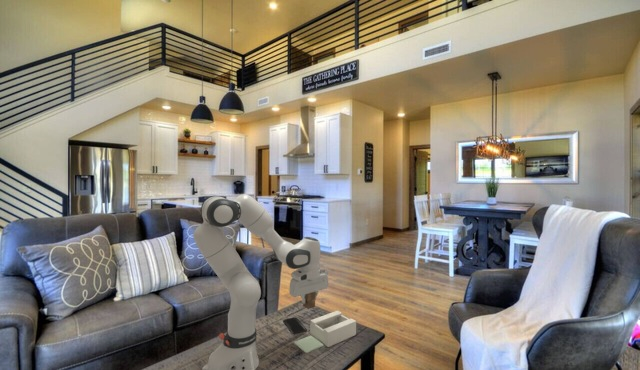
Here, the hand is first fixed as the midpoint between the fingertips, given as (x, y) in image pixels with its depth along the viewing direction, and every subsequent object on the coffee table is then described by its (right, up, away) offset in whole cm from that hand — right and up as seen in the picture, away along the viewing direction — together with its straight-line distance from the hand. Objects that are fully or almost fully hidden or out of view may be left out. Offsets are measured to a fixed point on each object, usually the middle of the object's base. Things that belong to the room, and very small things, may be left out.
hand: (309, 301), depth 140 cm
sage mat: (0, -21, +1) cm, 21 cm away
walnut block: (0, -2, 0) cm, 2 cm away
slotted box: (+12, -20, +10) cm, 25 cm away
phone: (-8, -20, +18) cm, 28 cm away
